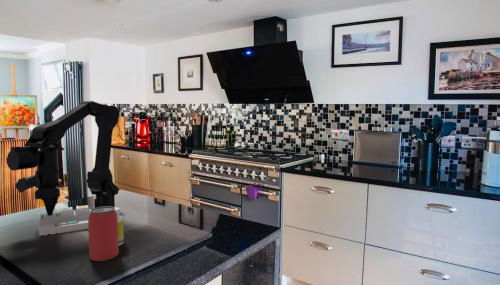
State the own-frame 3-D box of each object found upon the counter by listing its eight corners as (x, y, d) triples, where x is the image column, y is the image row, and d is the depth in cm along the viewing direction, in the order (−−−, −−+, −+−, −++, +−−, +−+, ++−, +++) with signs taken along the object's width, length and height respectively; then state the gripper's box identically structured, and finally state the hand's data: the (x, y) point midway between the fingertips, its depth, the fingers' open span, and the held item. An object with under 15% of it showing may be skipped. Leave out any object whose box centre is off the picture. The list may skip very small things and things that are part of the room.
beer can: (95, 252, 85) (93, 206, 84) (122, 251, 85) (120, 205, 84) (85, 263, 78) (83, 213, 77) (113, 261, 79) (112, 212, 78)
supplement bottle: (128, 241, 92) (126, 207, 91) (114, 249, 87) (112, 212, 86) (112, 239, 94) (111, 205, 93) (97, 246, 88) (96, 210, 88)
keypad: (90, 216, 116) (89, 206, 116) (93, 228, 104) (92, 215, 104) (41, 223, 109) (41, 211, 109) (39, 236, 97) (38, 223, 97)
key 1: (56, 219, 106) (56, 213, 106) (56, 222, 104) (55, 215, 103) (43, 220, 105) (43, 214, 105) (43, 223, 102) (43, 217, 102)
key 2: (87, 211, 111) (87, 205, 111) (88, 213, 108) (88, 207, 108) (76, 212, 109) (76, 206, 109) (76, 214, 106) (76, 208, 106)
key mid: (72, 212, 109) (72, 206, 109) (72, 215, 106) (72, 209, 106) (60, 214, 107) (60, 208, 107) (60, 217, 104) (60, 210, 104)
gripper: (19, 164, 107) (22, 211, 108) (11, 172, 91) (15, 227, 92) (59, 162, 113) (61, 207, 114) (58, 169, 96) (61, 221, 98)
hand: (49, 215), depth 104 cm, fingers closed, pressing on key 1
